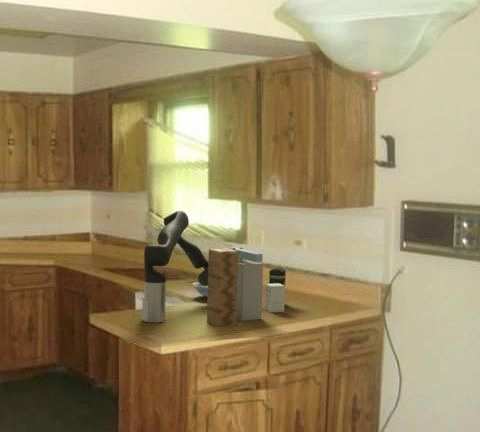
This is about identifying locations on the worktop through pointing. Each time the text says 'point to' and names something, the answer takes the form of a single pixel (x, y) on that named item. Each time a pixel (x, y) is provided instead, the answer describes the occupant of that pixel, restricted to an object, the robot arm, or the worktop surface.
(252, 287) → the grey step
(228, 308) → the walnut stand
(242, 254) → the blue bar
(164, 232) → the robot arm
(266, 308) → the supplement box
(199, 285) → the ramen bowl
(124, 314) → the worktop surface
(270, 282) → the coffee jar
